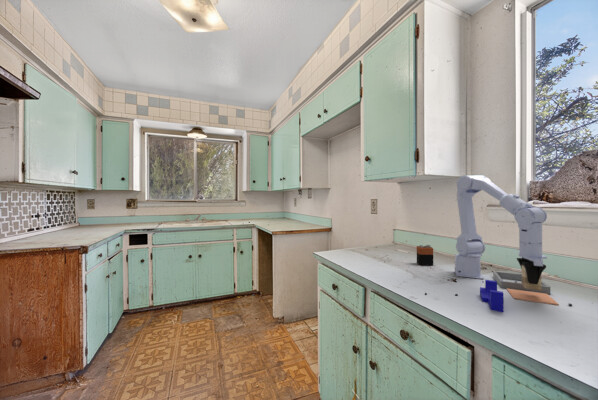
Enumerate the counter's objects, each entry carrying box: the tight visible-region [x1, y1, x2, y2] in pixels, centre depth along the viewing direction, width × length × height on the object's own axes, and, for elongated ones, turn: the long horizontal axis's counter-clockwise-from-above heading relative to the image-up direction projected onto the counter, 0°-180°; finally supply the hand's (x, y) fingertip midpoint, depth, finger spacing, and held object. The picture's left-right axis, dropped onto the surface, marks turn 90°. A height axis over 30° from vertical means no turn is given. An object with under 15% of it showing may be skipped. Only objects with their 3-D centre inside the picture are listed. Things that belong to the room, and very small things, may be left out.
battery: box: [416, 244, 434, 267], centre depth 123 cm, size 4×7×10 cm, turn 83°
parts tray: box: [492, 270, 551, 295], centre depth 94 cm, size 14×14×2 cm
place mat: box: [505, 288, 560, 306], centre depth 83 cm, size 11×9×1 cm
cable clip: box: [479, 279, 505, 313], centre depth 79 cm, size 12×4×6 cm, turn 149°
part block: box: [521, 265, 542, 290], centre depth 83 cm, size 4×4×7 cm
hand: (530, 281), depth 83 cm, fingers closed on part block, 4 cm apart
